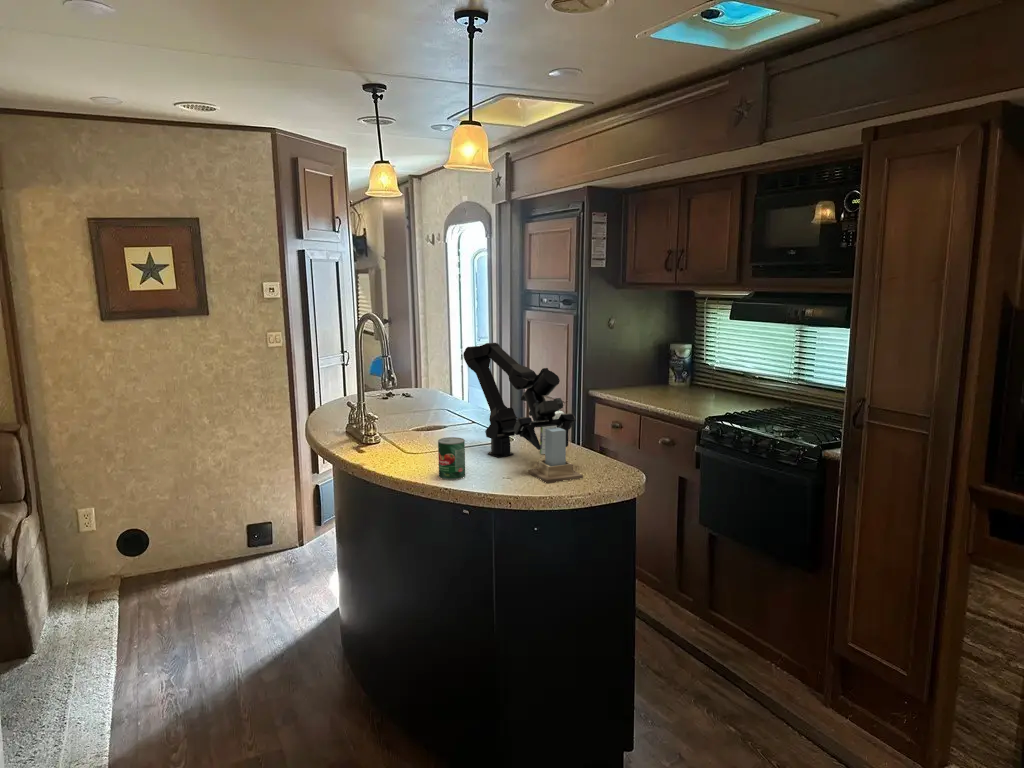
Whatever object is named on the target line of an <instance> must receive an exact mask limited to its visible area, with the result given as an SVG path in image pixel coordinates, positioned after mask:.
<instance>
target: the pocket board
mask: <svg viewBox="0 0 1024 768" xmlns="http://www.w3.org/2000/svg"><path fill="white" fill-rule="evenodd" d="M527 471H528V472H527V473H528V474H529V473H530V474H529V475H531V476H532V477H534V476H535V478H536V477H537V478H536V479H538V478H539V479H538V480H540V479H541V480H542V482H543V481H544V483H545V482H546V483H545V484H550V483H549V482H553V483H557V482H556V481H561V482H564V481H563V480H568V481H571V480H570V479H576V480H581V479H580V478H584V475H583V474H582V473H580V472H577V471H576V470H574V464H573V463H571V462H569V461H567V460H566V465H558V466H549V465H547V464H545V459H543V460H537V468H532V469H528V470H527ZM541 480H540V481H541Z"/></svg>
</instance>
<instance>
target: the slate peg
mask: <svg viewBox="0 0 1024 768" xmlns="http://www.w3.org/2000/svg"><path fill="white" fill-rule="evenodd" d="M566 448H567V447H566V430H564V429H561V428H559V427H558V428H548V429H546V442H545V455H544V457H545V458H544V460H545V464H547V465H549V466H558V465H566V461H567V460H566V459H567V458H566V457H567V455H566V453H567V452H566Z"/></svg>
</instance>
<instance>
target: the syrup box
mask: <svg viewBox="0 0 1024 768" xmlns="http://www.w3.org/2000/svg"><path fill="white" fill-rule="evenodd" d="M555 414H556V415H555V416H554V417H552V418H553V419H559V417H560V415H561V414H565V412H564V411H562V410H559V411H556V412H555ZM539 428H540V430H539V431H540V432H539V435H540V436H539V437H540V438H539V439H540V440H539V444H540V447H541V448H540V450H539V454H540V455H543V454H545V442H546V429H548V428H557V426H548V427H539Z"/></svg>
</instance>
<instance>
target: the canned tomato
mask: <svg viewBox="0 0 1024 768" xmlns="http://www.w3.org/2000/svg"><path fill="white" fill-rule="evenodd" d="M465 441H466V440H465V438H461V437H454V436H451V437H443V438H439V439H438V440H437V448H438V450H437V451H438V452H437V453H438V457H437V458H438V478H439V477H440V478H439V479H441V478H442V479H441V480H444V479H446V480H445V481H457V480H456V479H458V480H462V479H464V478H465V477H466V447H465V444H466V443H465ZM463 477H464V478H463ZM461 478H462V479H461ZM447 479H448V480H447Z"/></svg>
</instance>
